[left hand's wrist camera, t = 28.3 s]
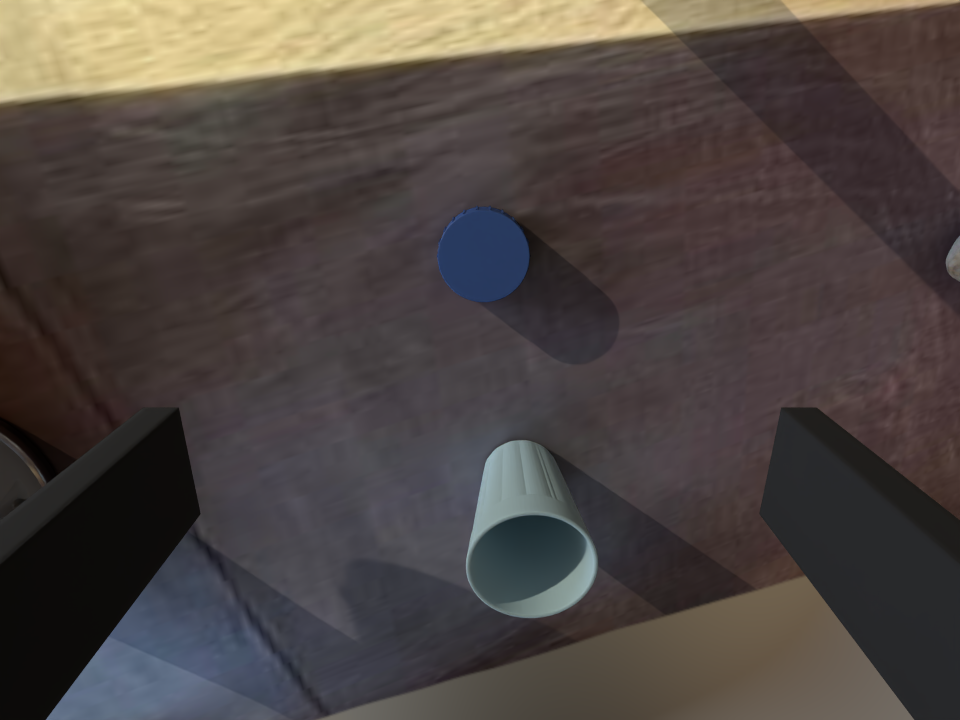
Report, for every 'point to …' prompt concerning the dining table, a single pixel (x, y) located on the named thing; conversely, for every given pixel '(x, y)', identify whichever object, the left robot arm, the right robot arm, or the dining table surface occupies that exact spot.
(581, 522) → the cup
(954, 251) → the decorative stone
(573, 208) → the dining table surface
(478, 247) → the lid
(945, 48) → the dining table surface
